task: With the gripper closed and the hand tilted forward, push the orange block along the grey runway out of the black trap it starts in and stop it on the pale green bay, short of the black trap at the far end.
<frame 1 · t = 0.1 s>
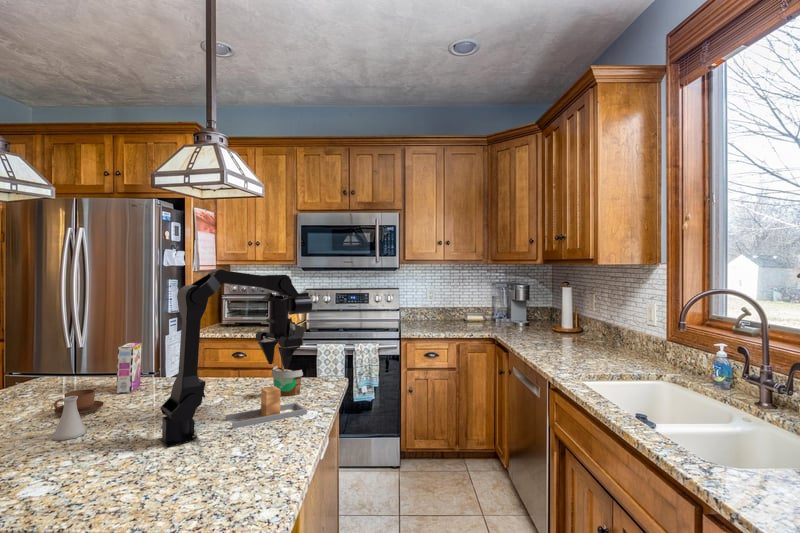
hand: (278, 366, 127), 15 cm above the worktop, tool pointing down, fingers open, 9 cm apart
cup and saucer: (79, 413, 128), on the worktop
candy bar box: (129, 390, 152), on the worktop
food container: (282, 399, 144), on the worktop
flask: (69, 436, 109), on the worktop
orange block: (270, 402, 121), point 5 cm above the worktop, slide at 0.0 cm
channel board: (267, 421, 121), on the worktop
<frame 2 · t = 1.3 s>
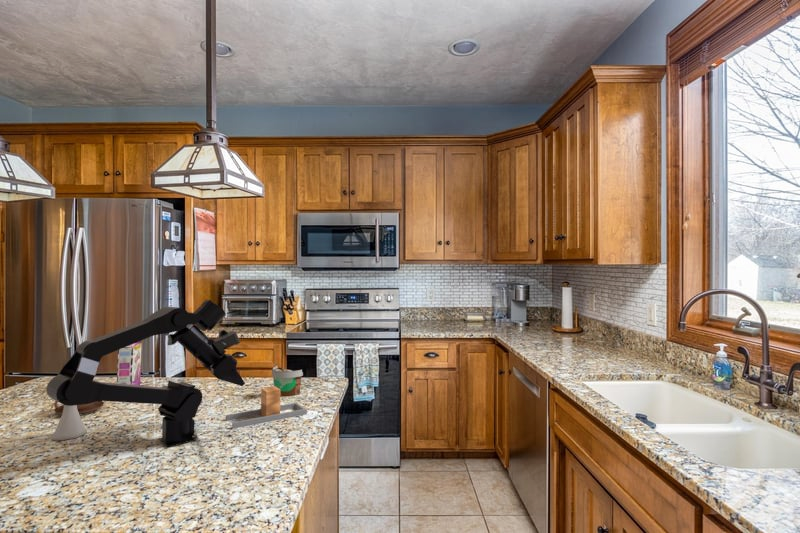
hand: (239, 381, 116), 13 cm above the worktop, tool tilted 45°, fingers open, 9 cm apart
nothing on the worktop moved.
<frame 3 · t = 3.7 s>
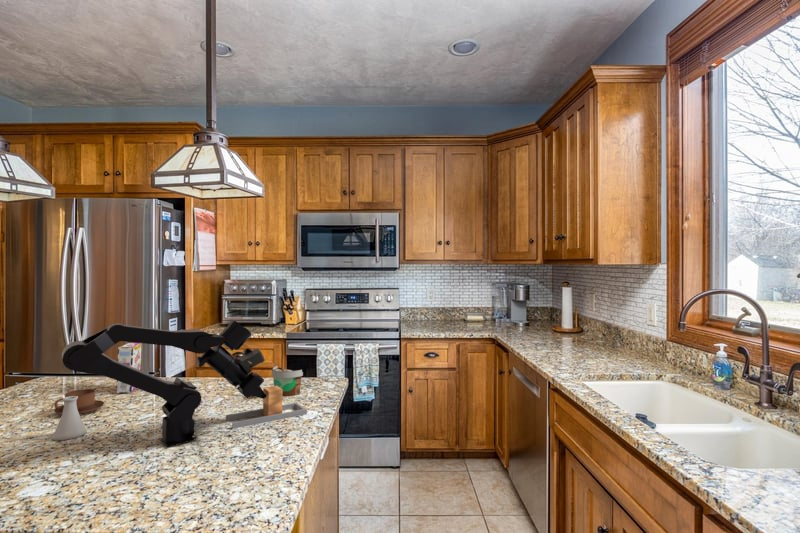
hand: (264, 397, 121), 7 cm above the worktop, tool tilted 45°, fingers closed, pressing on orange block
orange block: (272, 402, 122), point 5 cm above the worktop, slide at 0.6 cm, touching gripper
everything else where it was.
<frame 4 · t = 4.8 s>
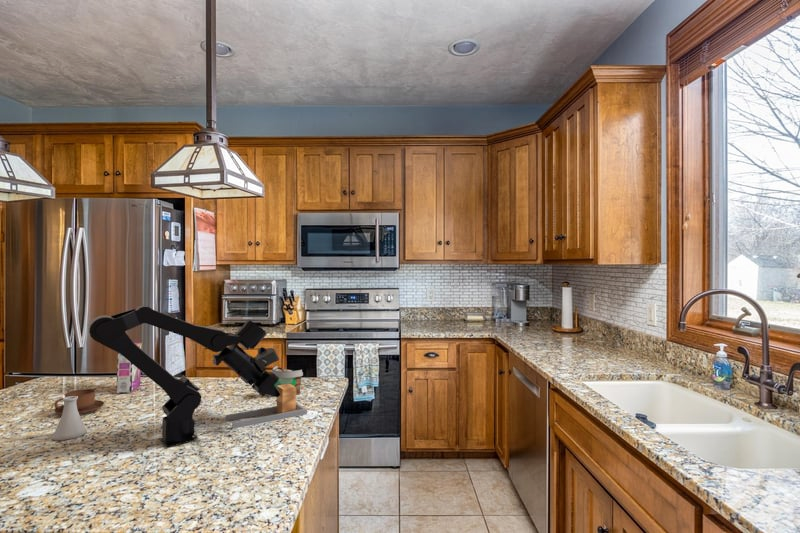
hand: (278, 395, 123), 7 cm above the worktop, tool tilted 45°, fingers closed
orange block: (286, 399, 124), point 5 cm above the worktop, slide at 4.7 cm
everything else where it was.
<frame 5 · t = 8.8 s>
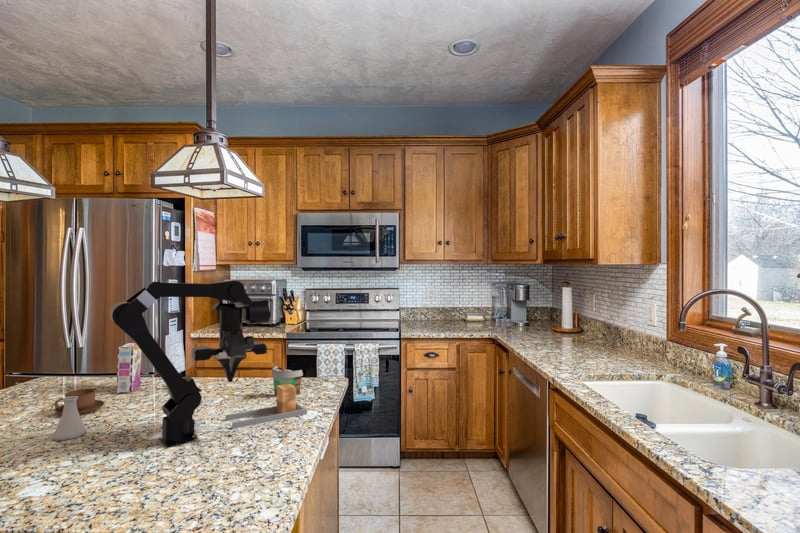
hand: (229, 381, 115), 13 cm above the worktop, tool pointing down, fingers closed
nothing on the worktop moved.
at the end: orange block slide at 4.7 cm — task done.
